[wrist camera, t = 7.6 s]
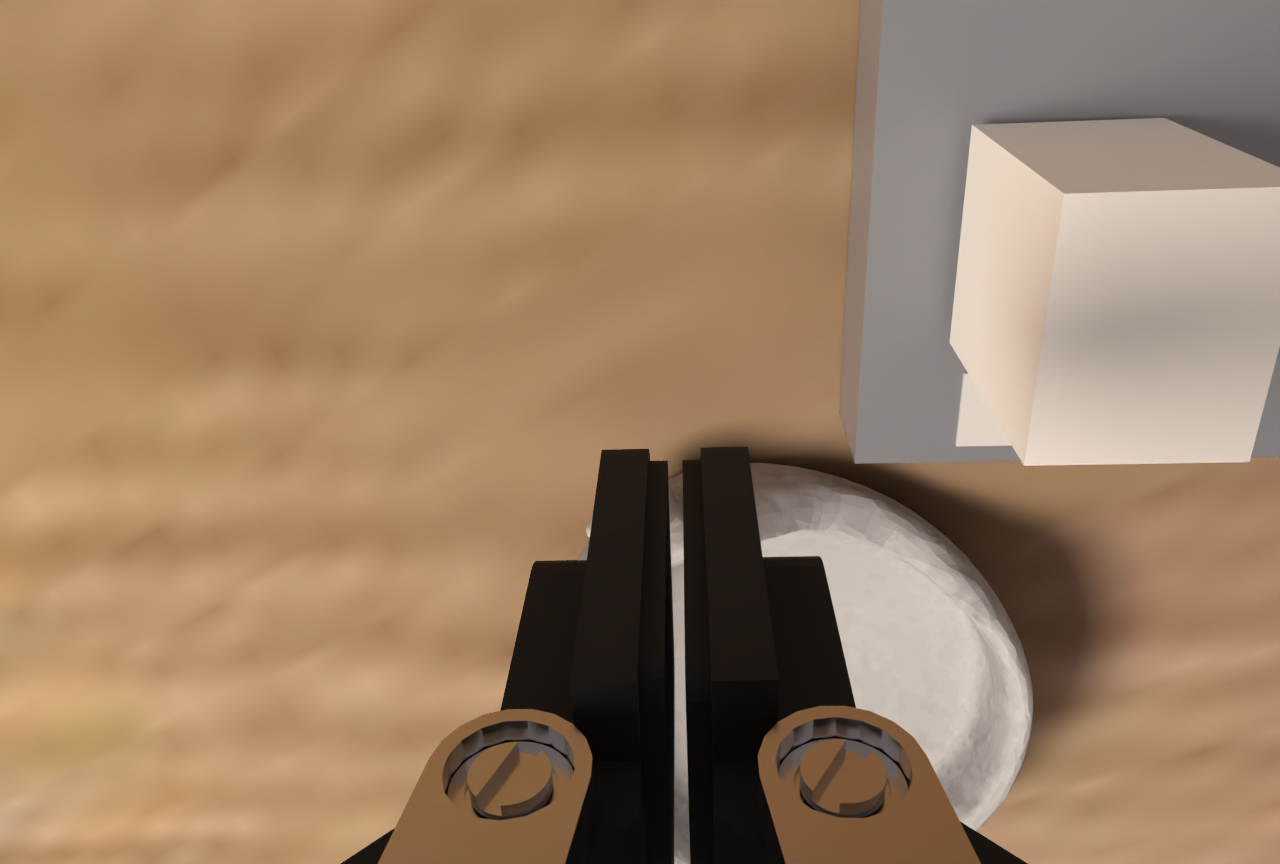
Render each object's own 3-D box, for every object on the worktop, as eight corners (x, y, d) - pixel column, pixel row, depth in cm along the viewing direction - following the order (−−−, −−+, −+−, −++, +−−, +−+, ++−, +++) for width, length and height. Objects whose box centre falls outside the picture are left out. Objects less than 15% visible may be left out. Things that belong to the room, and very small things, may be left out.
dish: (553, 426, 30) (529, 516, 25) (1034, 444, 29) (1095, 539, 25) (561, 788, 36) (543, 910, 32) (953, 807, 36) (990, 933, 31)
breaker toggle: (1164, 117, 21) (1322, 185, 16) (1123, 338, 24) (1249, 461, 18) (971, 124, 22) (1064, 194, 16) (949, 342, 24) (1024, 465, 19)
